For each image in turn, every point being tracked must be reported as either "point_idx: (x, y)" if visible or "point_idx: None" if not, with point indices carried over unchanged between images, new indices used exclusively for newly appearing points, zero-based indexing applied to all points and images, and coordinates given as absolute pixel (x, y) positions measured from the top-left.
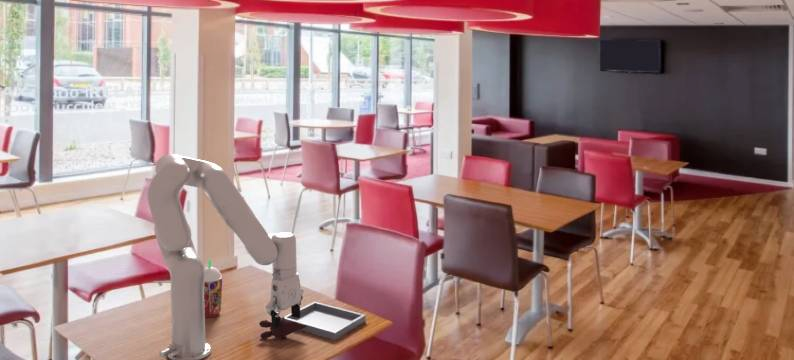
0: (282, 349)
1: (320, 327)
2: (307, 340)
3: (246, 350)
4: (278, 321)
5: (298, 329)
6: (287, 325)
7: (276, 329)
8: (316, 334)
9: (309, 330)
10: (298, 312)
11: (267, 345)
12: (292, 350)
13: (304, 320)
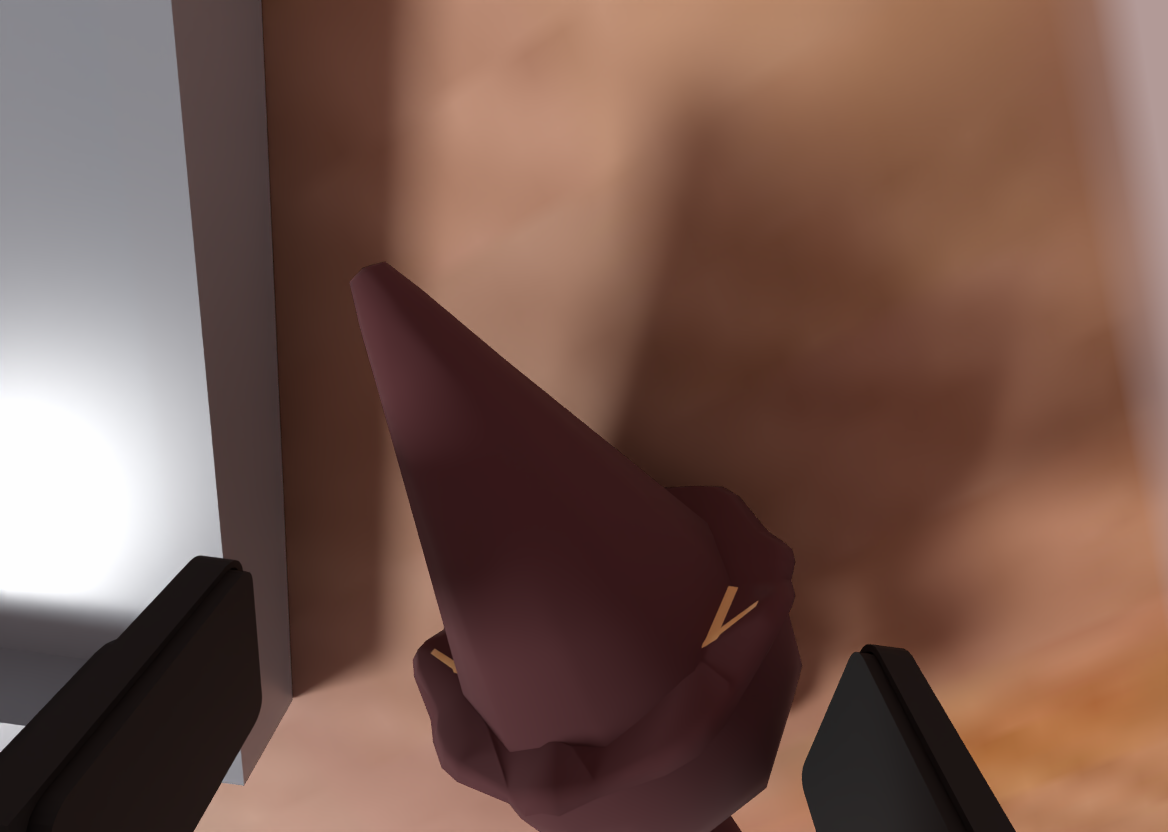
0: (994, 345)
1: (110, 14)
2: (539, 142)
3: (1110, 707)
4: (981, 809)
5: (518, 375)
6: (660, 588)
7: (798, 676)
8: (261, 108)
9: (251, 276)
10: (166, 665)
11: (913, 579)
12: (998, 177)
13: (9, 530)
